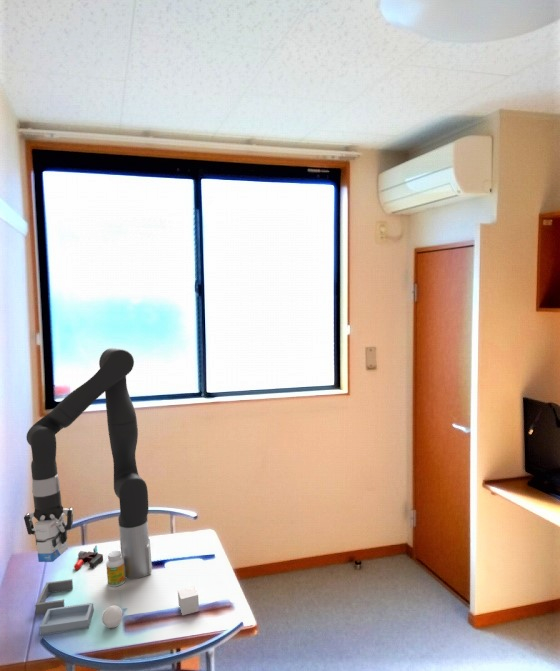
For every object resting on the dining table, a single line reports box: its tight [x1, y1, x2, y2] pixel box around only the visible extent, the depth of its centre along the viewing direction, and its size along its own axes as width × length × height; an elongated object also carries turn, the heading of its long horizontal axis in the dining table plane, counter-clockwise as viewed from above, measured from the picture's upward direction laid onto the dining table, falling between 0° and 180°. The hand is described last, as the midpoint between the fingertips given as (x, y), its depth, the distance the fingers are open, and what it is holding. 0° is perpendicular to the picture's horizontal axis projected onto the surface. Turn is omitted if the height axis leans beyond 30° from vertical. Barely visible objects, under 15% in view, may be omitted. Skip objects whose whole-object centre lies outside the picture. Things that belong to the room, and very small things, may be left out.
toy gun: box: [73, 544, 104, 571], centre depth 187 cm, size 10×12×5 cm
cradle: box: [34, 578, 74, 615], centre depth 164 cm, size 8×13×3 cm, turn 10°
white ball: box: [101, 605, 124, 629], centre depth 150 cm, size 8×6×6 cm
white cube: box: [177, 586, 200, 616], centre depth 156 cm, size 5×5×5 cm
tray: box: [39, 602, 95, 636], centre depth 152 cm, size 9×13×2 cm
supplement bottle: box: [105, 550, 126, 587], centre depth 172 cm, size 5×5×10 cm
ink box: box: [34, 513, 69, 563], centre depth 162 cm, size 8×5×12 cm, turn 171°
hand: (52, 544), depth 163 cm, fingers closed on ink box, 6 cm apart
